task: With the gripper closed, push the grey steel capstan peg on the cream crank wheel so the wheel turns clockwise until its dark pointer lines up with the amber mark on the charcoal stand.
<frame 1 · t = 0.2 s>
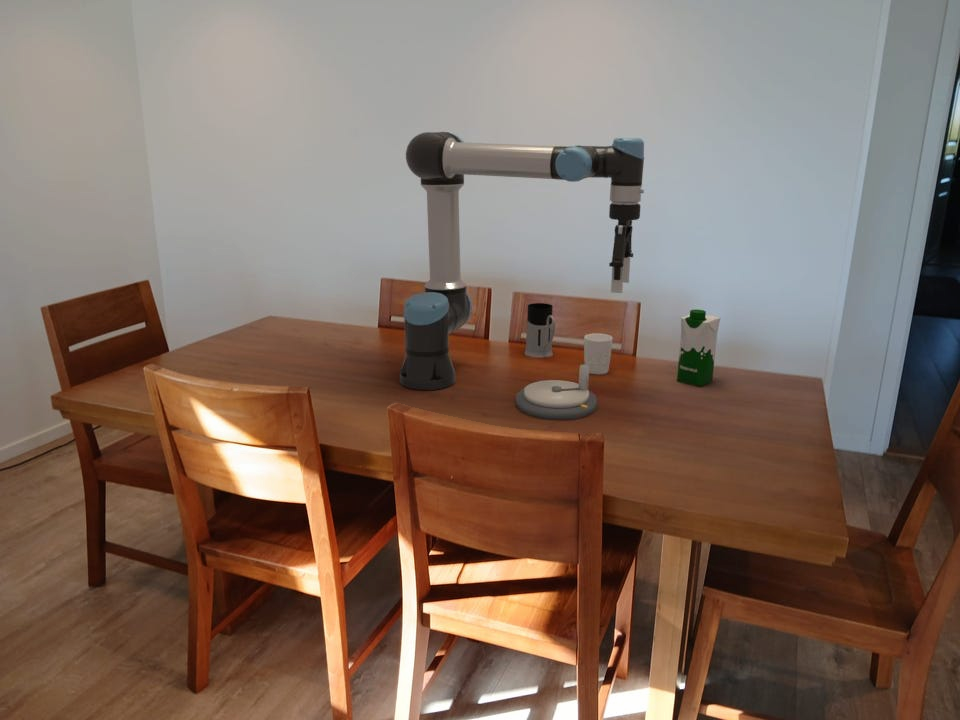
hand: (620, 287, 186), 27 cm above the table, fingers open, 13 cm apart
milk carton: (694, 381, 199), on the table
cream crank wheel: (557, 382, 179), point 6 cm above the table, hinge at 30.0°
glass holder: (542, 356, 220), on the table
stand base: (556, 404, 181), on the table
white cup: (596, 371, 207), on the table
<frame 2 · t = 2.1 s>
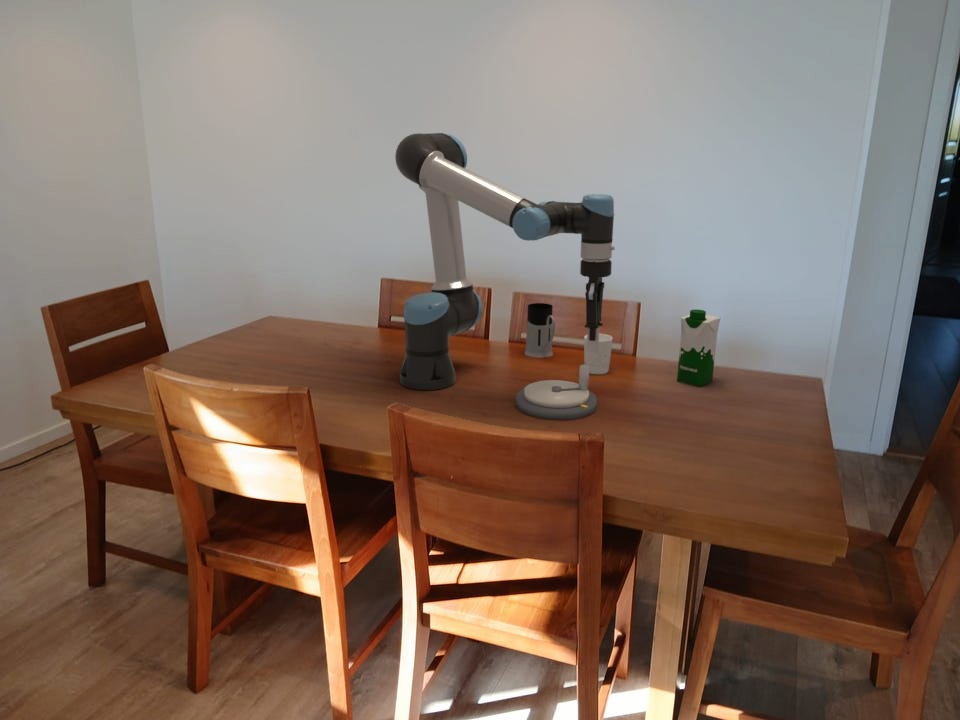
hand: (592, 351, 185), 12 cm above the table, fingers closed
nothing on the table moved.
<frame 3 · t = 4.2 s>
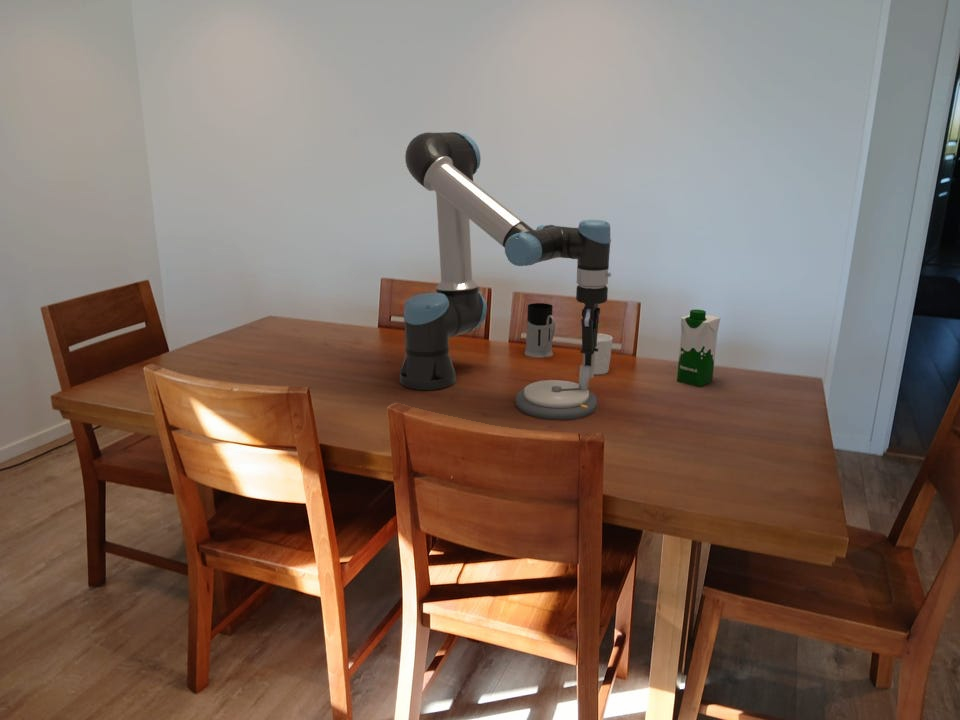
hand: (588, 377, 183), 6 cm above the table, fingers closed
cream crank wheel: (557, 382, 179), point 6 cm above the table, hinge at 29.1°, touching gripper
everything else where it was.
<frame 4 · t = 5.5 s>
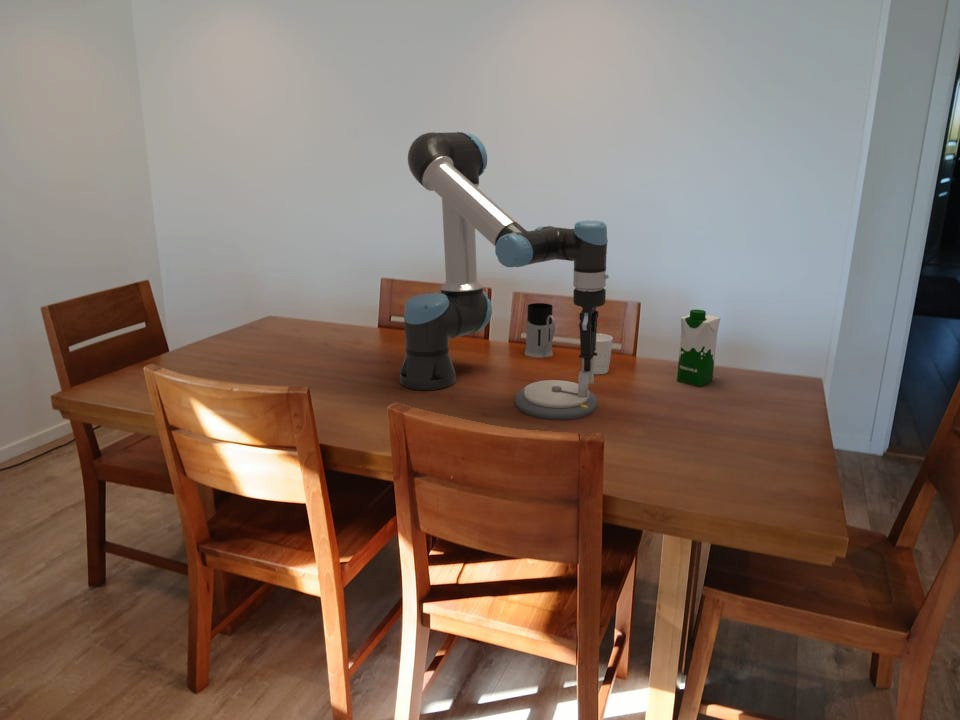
hand: (587, 382, 178), 6 cm above the table, fingers closed
cream crank wheel: (557, 382, 179), point 6 cm above the table, hinge at -12.7°, touching gripper
everything else where it was.
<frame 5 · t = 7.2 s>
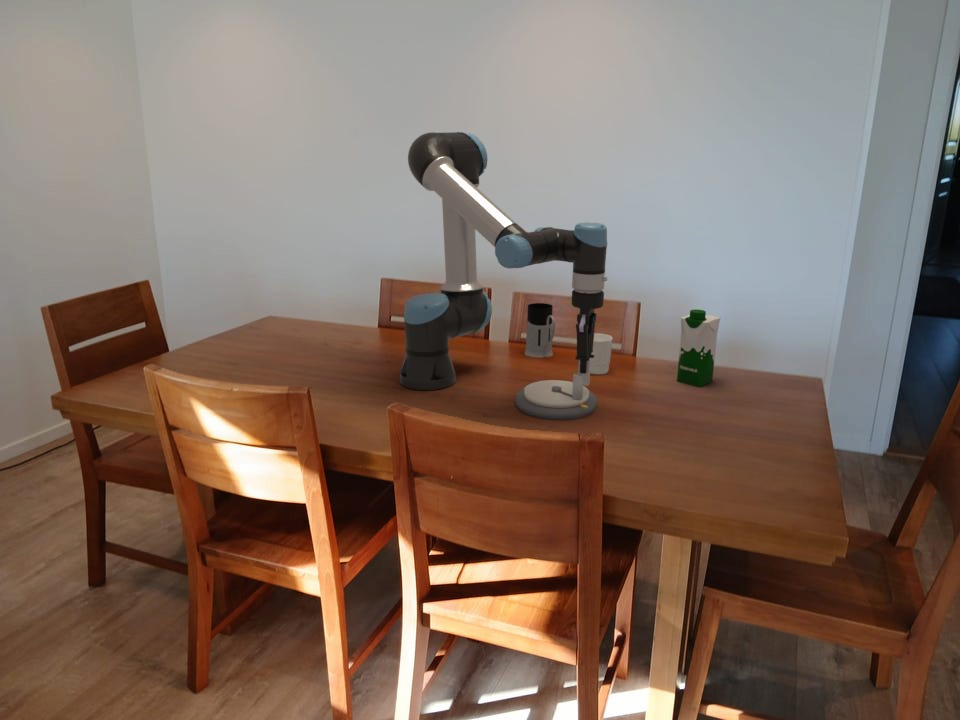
hand: (583, 384, 178), 6 cm above the table, fingers closed
cream crank wheel: (557, 382, 179), point 6 cm above the table, hinge at -32.4°
everything else where it was.
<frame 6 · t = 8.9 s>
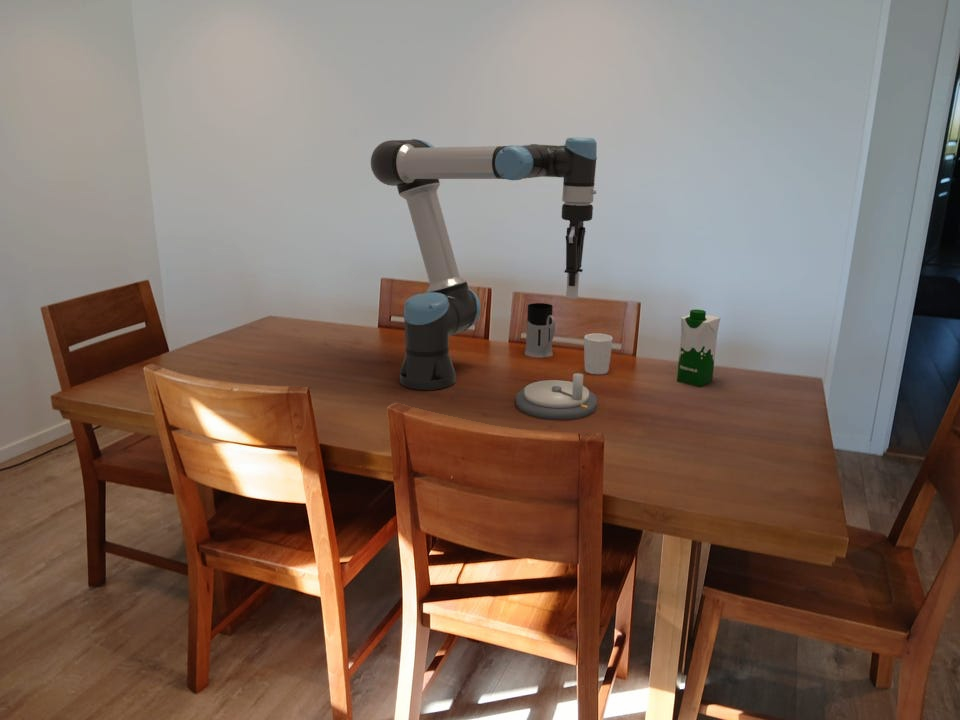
hand: (571, 297, 185), 25 cm above the table, fingers closed
nothing on the table moved.
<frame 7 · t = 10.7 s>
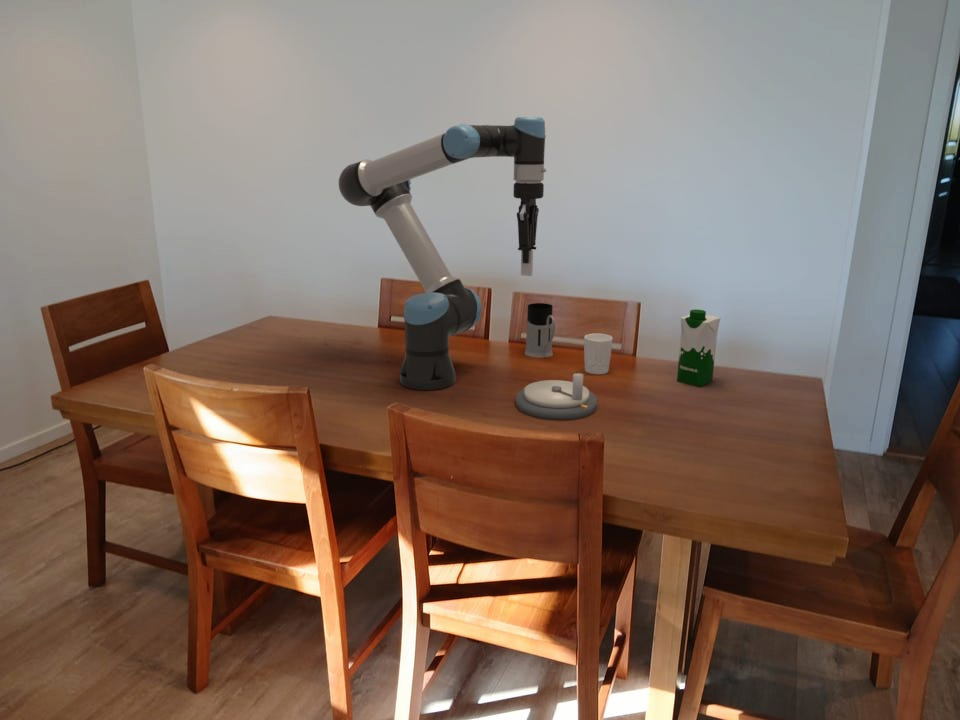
hand: (526, 275, 189), 29 cm above the table, fingers closed
nothing on the table moved.
at the end: cream crank wheel at -32° (first picture: +30°) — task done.
